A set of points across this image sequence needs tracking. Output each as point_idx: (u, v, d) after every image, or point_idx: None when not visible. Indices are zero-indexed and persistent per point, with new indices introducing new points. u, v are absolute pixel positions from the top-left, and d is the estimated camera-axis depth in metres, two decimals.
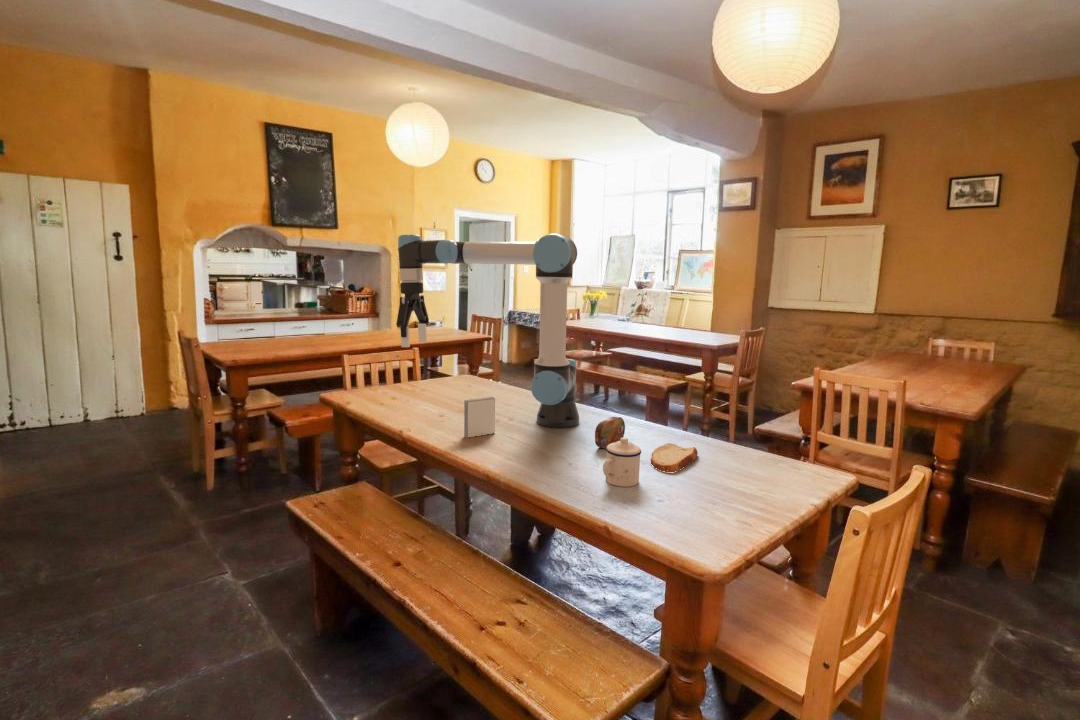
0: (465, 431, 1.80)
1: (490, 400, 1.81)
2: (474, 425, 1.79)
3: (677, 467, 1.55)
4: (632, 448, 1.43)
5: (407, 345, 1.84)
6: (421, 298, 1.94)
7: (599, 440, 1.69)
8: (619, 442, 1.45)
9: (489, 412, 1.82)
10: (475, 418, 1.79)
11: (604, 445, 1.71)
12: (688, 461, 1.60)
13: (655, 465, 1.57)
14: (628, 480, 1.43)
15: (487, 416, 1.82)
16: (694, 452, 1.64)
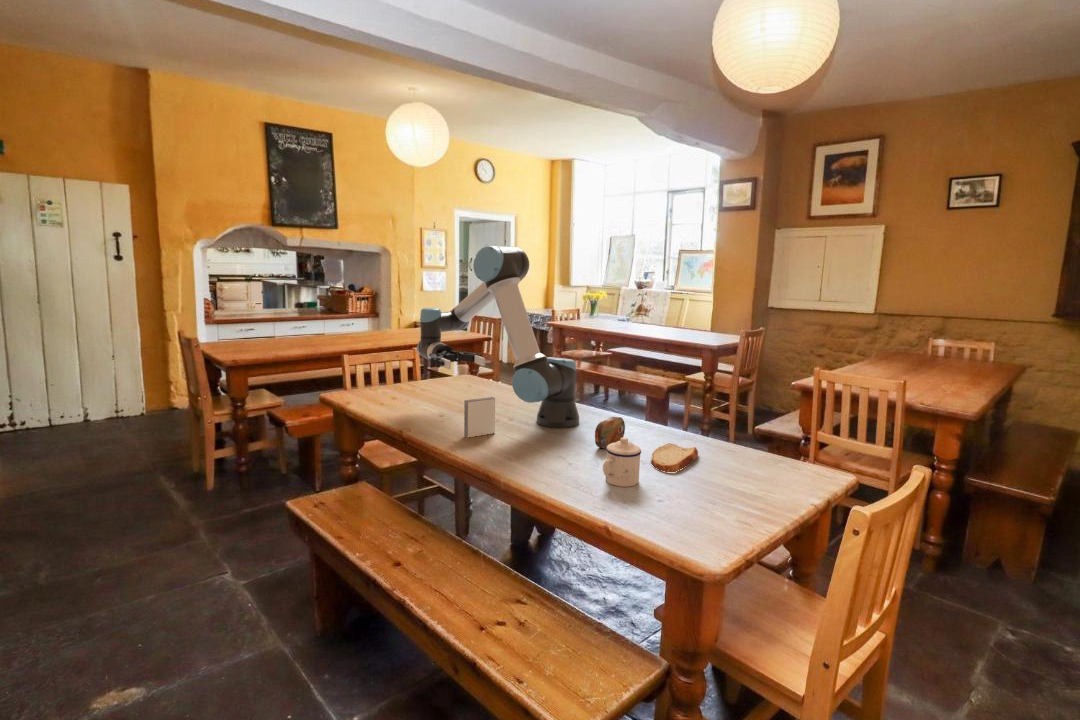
0: (465, 431, 1.80)
1: (490, 400, 1.81)
2: (474, 425, 1.79)
3: (678, 467, 1.55)
4: (632, 448, 1.43)
5: (447, 362, 1.83)
6: (462, 352, 2.02)
7: (599, 440, 1.69)
8: (619, 442, 1.45)
9: (489, 412, 1.82)
10: (475, 418, 1.79)
11: (604, 445, 1.71)
12: (689, 461, 1.60)
13: (656, 465, 1.57)
14: (628, 480, 1.43)
15: (487, 416, 1.82)
16: (694, 452, 1.64)
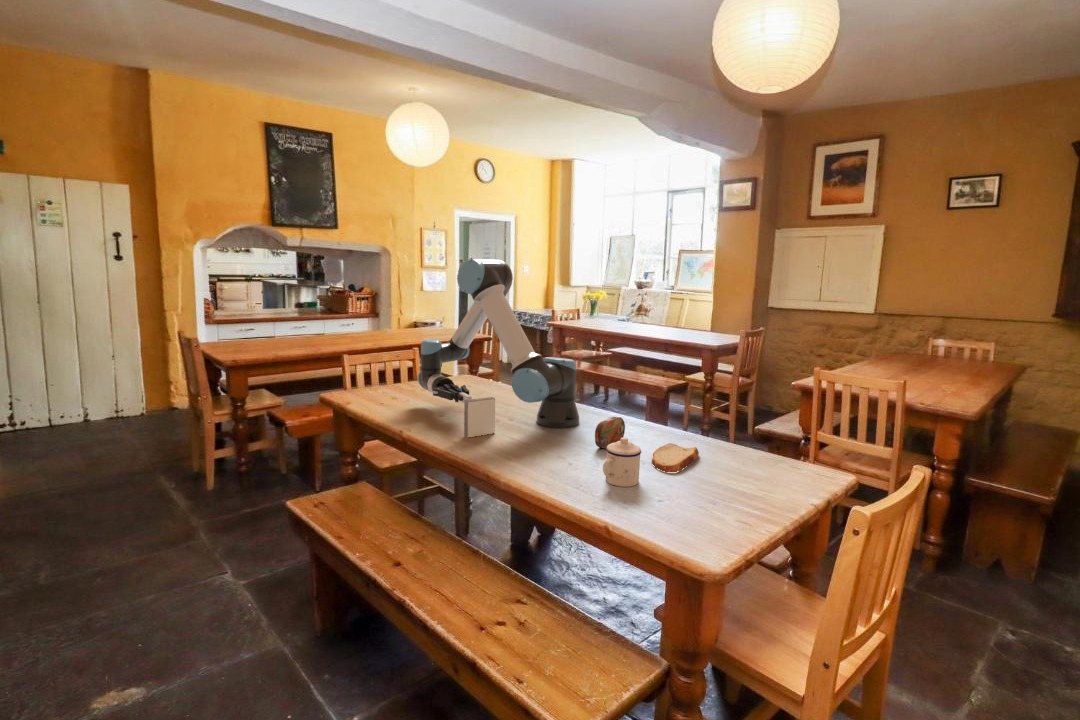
0: (465, 431, 1.80)
1: (490, 400, 1.81)
2: (474, 425, 1.79)
3: (679, 467, 1.55)
4: (632, 448, 1.43)
5: (466, 397, 1.87)
6: None
7: (599, 440, 1.69)
8: (619, 442, 1.45)
9: (489, 412, 1.82)
10: (475, 418, 1.79)
11: (604, 445, 1.71)
12: (689, 461, 1.59)
13: (656, 465, 1.56)
14: (628, 480, 1.43)
15: (487, 416, 1.82)
16: (695, 452, 1.64)
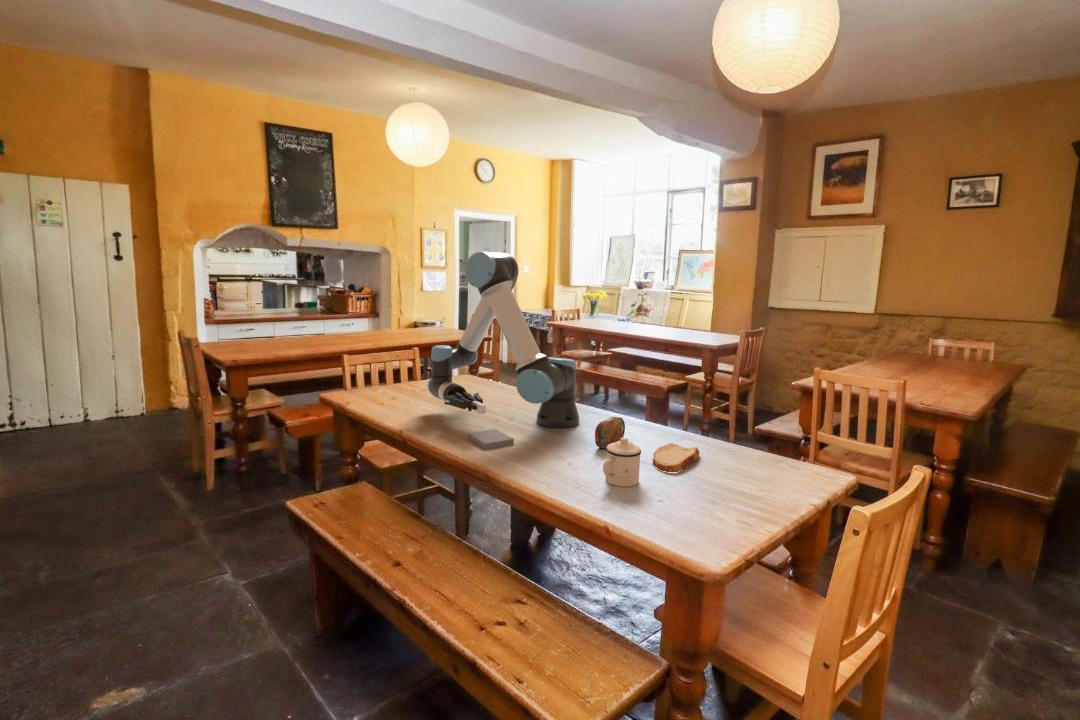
0: (470, 437, 1.77)
1: None
2: None
3: (680, 467, 1.54)
4: (632, 448, 1.43)
5: (480, 406, 1.78)
6: None
7: (599, 440, 1.69)
8: (619, 442, 1.45)
9: None
10: None
11: (604, 445, 1.71)
12: (690, 461, 1.59)
13: (657, 465, 1.56)
14: (628, 480, 1.43)
15: None
16: (696, 452, 1.64)
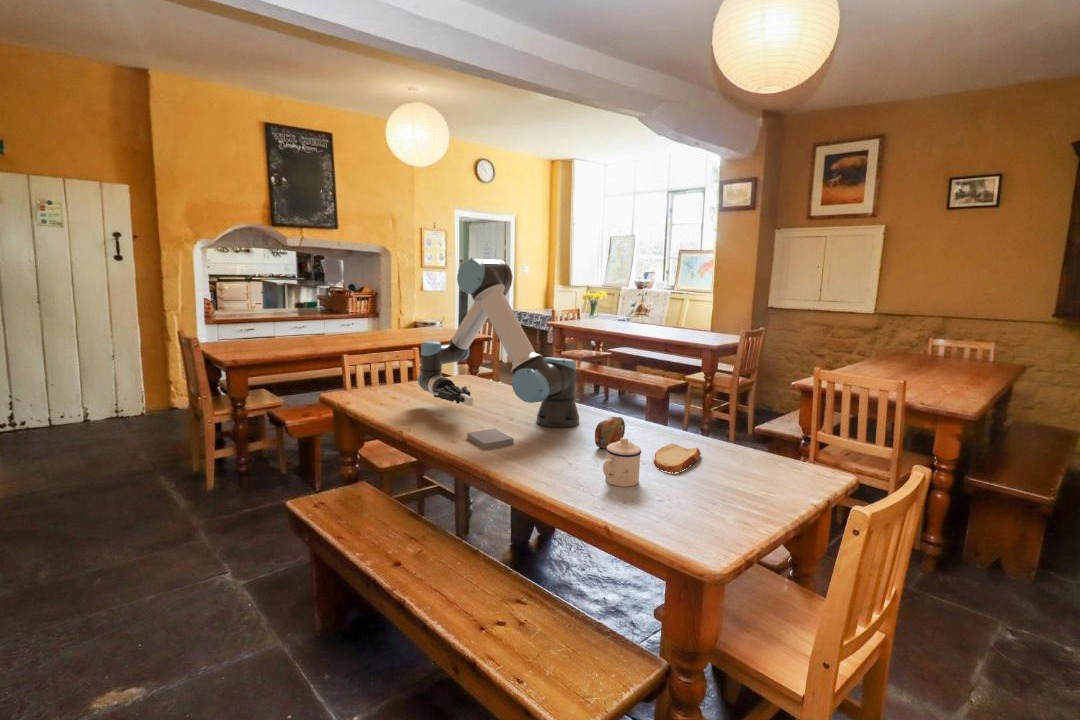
0: (470, 437, 1.77)
1: None
2: None
3: (681, 468, 1.54)
4: (632, 448, 1.43)
5: (467, 399, 1.86)
6: None
7: (599, 440, 1.69)
8: (619, 442, 1.45)
9: None
10: None
11: (604, 445, 1.71)
12: (691, 462, 1.59)
13: (659, 466, 1.56)
14: (628, 480, 1.43)
15: None
16: (697, 453, 1.64)
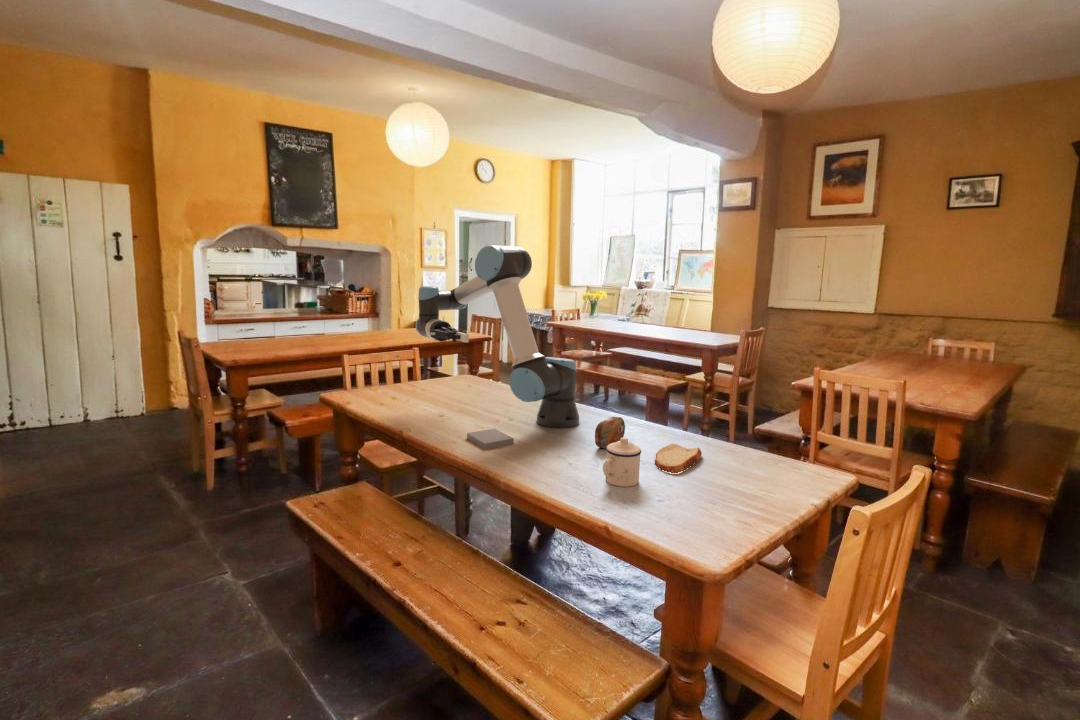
0: (469, 437, 1.77)
1: None
2: None
3: (682, 468, 1.54)
4: (632, 448, 1.43)
5: (463, 335, 1.88)
6: None
7: (599, 440, 1.69)
8: (619, 442, 1.45)
9: None
10: None
11: (604, 445, 1.71)
12: (692, 462, 1.59)
13: (660, 466, 1.56)
14: (628, 480, 1.43)
15: None
16: (698, 453, 1.63)
